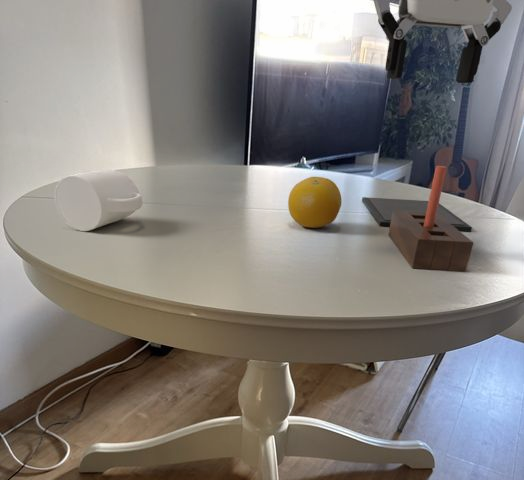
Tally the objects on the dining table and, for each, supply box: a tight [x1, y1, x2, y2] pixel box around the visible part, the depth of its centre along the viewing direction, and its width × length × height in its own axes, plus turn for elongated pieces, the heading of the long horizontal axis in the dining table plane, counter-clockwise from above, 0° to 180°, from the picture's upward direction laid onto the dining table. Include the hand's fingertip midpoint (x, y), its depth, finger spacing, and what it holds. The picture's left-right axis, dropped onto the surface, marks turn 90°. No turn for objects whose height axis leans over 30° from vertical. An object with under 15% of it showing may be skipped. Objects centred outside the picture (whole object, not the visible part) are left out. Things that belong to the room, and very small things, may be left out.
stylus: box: [424, 165, 447, 227], centre depth 69 cm, size 1×1×12 cm
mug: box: [54, 168, 143, 232], centre depth 74 cm, size 12×9×8 cm
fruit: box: [287, 176, 343, 229], centre depth 79 cm, size 9×8×8 cm
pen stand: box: [387, 211, 474, 273], centre depth 71 cm, size 7×17×4 cm, turn 178°
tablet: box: [361, 196, 473, 233], centre depth 93 cm, size 16×22×1 cm
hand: (429, 80), depth 61 cm, fingers open, 9 cm apart
